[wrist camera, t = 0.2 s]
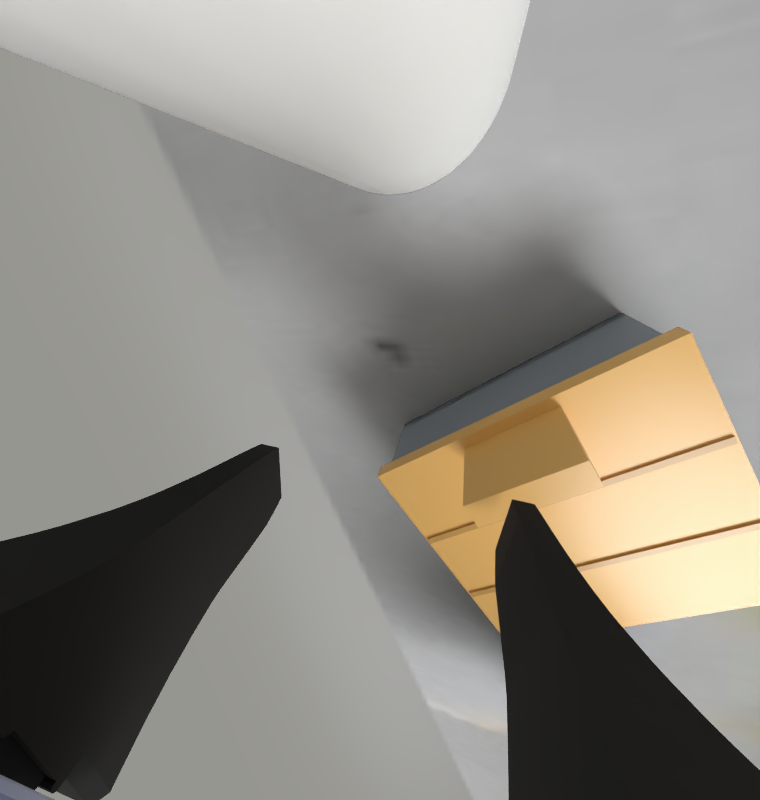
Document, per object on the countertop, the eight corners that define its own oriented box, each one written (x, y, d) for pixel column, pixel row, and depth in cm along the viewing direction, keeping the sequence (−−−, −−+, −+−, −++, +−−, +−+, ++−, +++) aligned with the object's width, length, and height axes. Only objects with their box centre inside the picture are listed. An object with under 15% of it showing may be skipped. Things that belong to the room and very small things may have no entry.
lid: (780, 565, 15) (907, 701, 11) (507, 619, 20) (516, 724, 16) (667, 322, 12) (777, 371, 8) (384, 458, 18) (355, 533, 13)
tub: (715, 502, 18) (782, 576, 15) (504, 560, 24) (510, 626, 20) (621, 312, 16) (671, 338, 12) (405, 424, 21) (389, 468, 17)
